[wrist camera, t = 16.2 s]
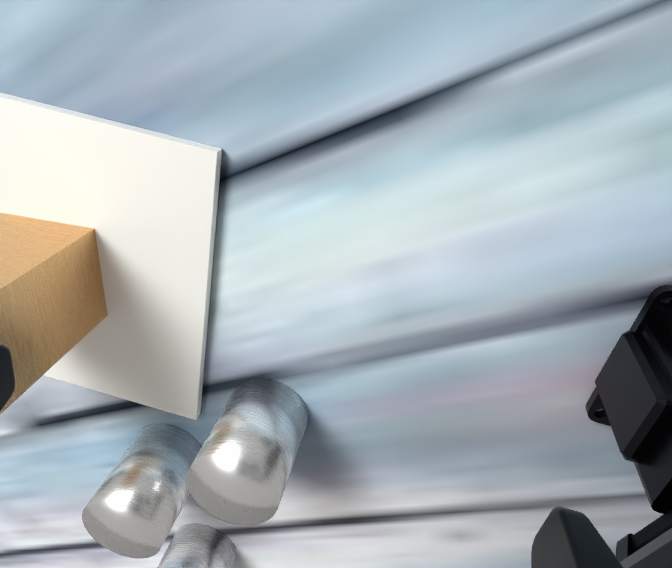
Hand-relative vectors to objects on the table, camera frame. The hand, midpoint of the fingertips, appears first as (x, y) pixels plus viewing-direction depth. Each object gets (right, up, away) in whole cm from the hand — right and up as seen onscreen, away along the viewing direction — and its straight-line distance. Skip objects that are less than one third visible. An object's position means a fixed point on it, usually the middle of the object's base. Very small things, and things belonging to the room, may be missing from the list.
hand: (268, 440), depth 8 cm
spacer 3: (-2, -4, +18) cm, 18 cm away
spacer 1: (-8, -7, +21) cm, 23 cm away
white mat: (-10, +3, +16) cm, 19 cm away
